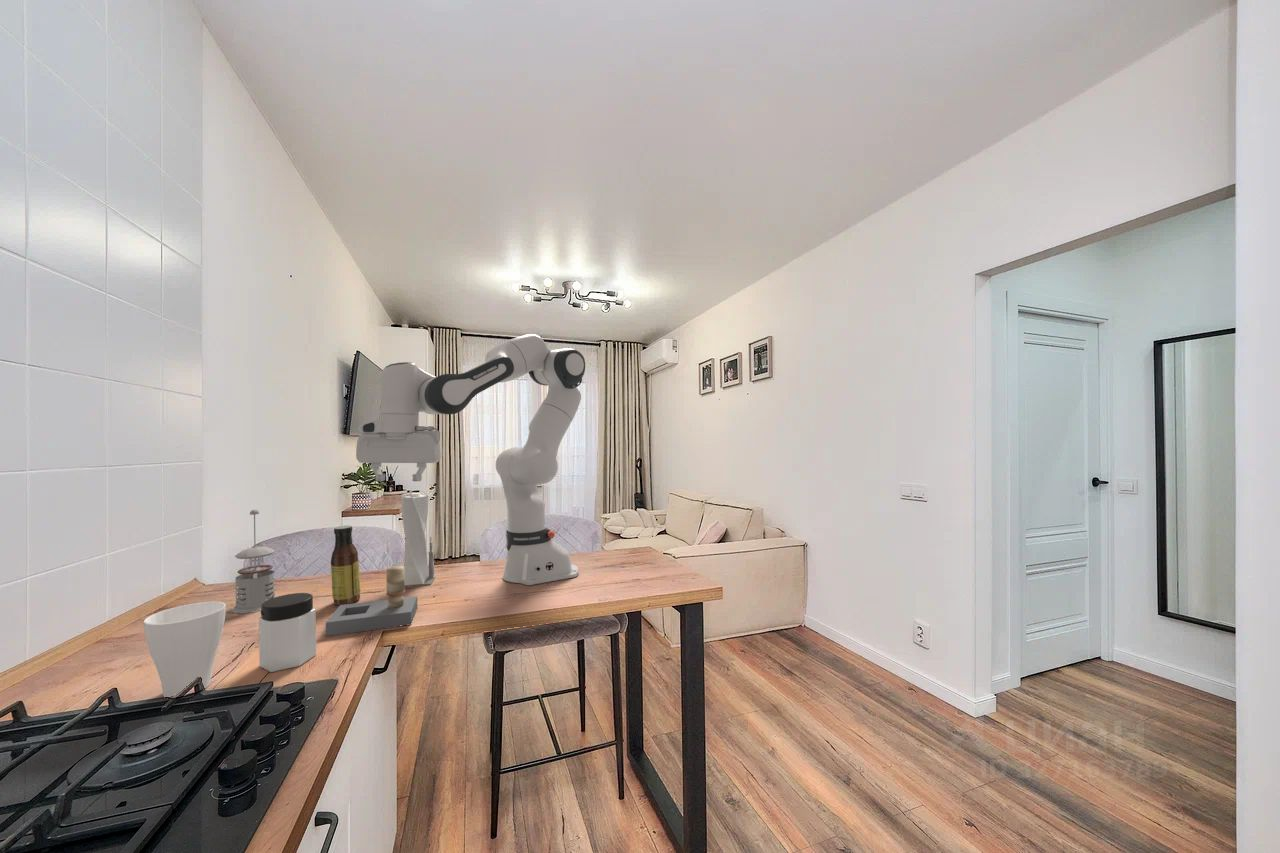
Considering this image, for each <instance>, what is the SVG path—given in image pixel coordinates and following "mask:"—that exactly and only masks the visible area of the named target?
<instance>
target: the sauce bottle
mask: <svg viewBox="0 0 1280 853" xmlns="http://www.w3.org/2000/svg"><path fill="white" fill-rule="evenodd" d="M352 532H353V526H352V525H340V526H336V527H334V529H333V534H334V536H335V537H334V544H335V545H334V547H333V551H332V553H331V557H330V570H331V589H332V590H331V591H332V592H331V593H332V595H331V596H332V599H333V603H334V604H335V605H337V606H340V605H344V604H349V603H350V604H353V602H354V603H357V602H358V601H359V600H360V598H361V594H360V593H361V581H360V563H359V562H360V561H359V553H358V550H357V547H356V546H355V544H354V543H353V535H352Z"/></svg>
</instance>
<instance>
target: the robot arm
mask: <svg viewBox="0 0 1280 853" xmlns="http://www.w3.org/2000/svg"><path fill="white" fill-rule="evenodd" d="M585 371H586V360H585V358H584V355H583V354H582V353H581V352H580V351H578V350H577V349H573V348H570V347H569V348H567V347H564V348H559V349H552V350H549V348H548V347H547V344H546V341H544V339H543V337H540V336H539V335H537V334H534V333H533V334H532V333H530V334H529V333H528V334H524V335H520V336H517V337H513V338H511V339H508V340H507V341H504V342H502V343H501V342H500V344H498V345H495V346H494V347H493V348H492V349H490V350H489V351H487V353H486V354H485V360H484V362H483V363H481V364H479V365H477V366H475V367H473V368H471V369H469V370H467V371H465V372H461V373H444V374H440V375H438V376H435V375H432V374H430V373H428V372H427V371H426V370H425V371H424V370H423V369H421V368H420V367H419V366H418V365H417V364H416V363H414V362H409V361H405V362H396V363H390V364H388V365H386V366H385V367H384V368H383V369H382V372H381V377H380V381H379V382H380V384H379V399H380V402H381V405H380V406H381V407H380V410H379V418H377V419H374V420H371V421H368V422H365V423H364V422H363V423H362V424H360V425H359V426H358V431H359V433H360V435H359V436H358V438H357V441H356V447H355V448H356V449H355V456H356V457H355V458H356V461H357V462H358V463H359V464H360V463H362V464H370V468H371V470H372V472H373V473H374V475H375V482H384V481H385V480H386V473H383V472H382V470H381V467H382V464H416V468H418V469H417V471H416V473H414V474H412V481H413V482H421V481H422V478H423V477H422V475H423V473H424V472H425V470H426V468H427V464H435V463H438V462H440V460H441V457H442V456H441V454H442V453H441V446H440V440H441V433H440V430H438V428H436V427H434V426H432V425H431V426H429V425H428V426H424V425H423V426H420V425H419V423H420V422H419V420H420V419H419V416H420V415H419V413H420V412H421V413H424V414H429V415H456V414H459V413H460V412H462V411H463V410H464V409H466V407H468V405H469V404H470V403H471V401H472V400H473V398H474V397H475V396H477V395H479V394H480V393H481V392H484V391H485V390H487V389H489V388H491V387H493V386H495V385H496V384H499V383H507V382H511V381H513V380H516V379H518V378H520V377H522V376H525V375H527V374H528V375H529V376H530V378H531V380H532V381H533V382H534V383H536V384H538V385H541V386H545V387H546V386H548V391H547V394H546V397H545V398H544V399H543V401H542V402H541V404H540V406H539V407H538V409H537V410H536V412H535V414H534V415H533V417H532V419H531V421H530V422H529V425H528V430H529V432H528V437H527V440H526V441H525V442H526V443H525V444H524V446H522V447H518V446H517V447H516V446H515V447H511V448H508V449H505V450H503V451H502V452H500V453H499V454H498V456H497V457H496V461H495V470H496V472H497V474H498V475H499V477H500V480H501V484H502V488H503V491H504V492H503V493H504V496H505V500H506V510H507V511H506V512H507V515H506V516H507V530H506V533H505V547H506V551H507V552H506V561H505V568H504V572H503V574H502V580H504V581H506V582H509V583H514V584H515V583H516V584H522V585H526V586H532V585H537V584H543V583H549V582H554V581H555V582H556V581H561V580H566V579H570V578H575V577H578V576H579V568H578V566H577V565H575V563H572V561H571V556H570V554H569V551H568V550H567V549H566V548H564V547H563V546H561V545H560V544H558V543H557V542H555V541H554V540H553V539H554V538H555V537H556V536H555V535H556V534H555V531H553V530H552V529H550V528H547V527H546V512H545V510H546V509H545V508H546V507H545V501H544V499H543V498H542V496H541V494H540V492H539V489H538V486H540V485H544V484H548V483H550V482H551V481H553V479H555V477H556V475H557V473H558V469H559V465H558V464H559V463H558V460H557V457H558V456H557V455H558V452H559V448H560V445H561V442H562V440H563V438H564V436H565V434H566V433H567V430H568V429H569V427H570V425H571V423H572V421H573V420H574V418H575V416H576V414H577V411H578V409H579V406H580V403H581V400H582V394H581V391H580V390H579V388H578V387H579V386H580V385H581V384H582V382H583V377H584V374H585Z"/></svg>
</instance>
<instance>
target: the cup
mask: <svg viewBox="0 0 1280 853" xmlns="http://www.w3.org/2000/svg"><path fill="white" fill-rule="evenodd" d="M226 611H227V604H226V603H224V602H223V601H203V602H202V601H201V602H195V603H189V604H184V605H178V606H175V607H171V608H167V609H164V610H161V611H158V612H156V613H153V614H151V615H149V616H148V617H146V618H145V619H144V620H143V629H144V631H143V632H144V637H145V641H146V644H147V645H146V646H147V648H148V650H149V654H150V657H151V659H152V661H153V664H154V666H155V667H156V670H157V674H158V677H159V680H160V684H161V690H162V696H163V697H164V698H165V697H171V696H174V695H175V694H178V693H179V692H181V691H182V690H183V689H184V688H186V686H188V685H189V684H190V683H191V682H193V681H194V680H195V679H196V678H197V677H201V678H202V683H203V685H204V687H205V689H206V688H208V687H209V686H210V685H211V683H212V674H213V668H214V663H215V660H216V659H215V658H216V655H217V651H218V648H219V645H220V642H221V638H222V635H223V629H224V627H225V621H226Z"/></svg>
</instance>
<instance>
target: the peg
mask: <svg viewBox="0 0 1280 853" xmlns="http://www.w3.org/2000/svg"><path fill="white" fill-rule="evenodd" d="M385 570H386V573H385V574H386V596H387V599H388V607H389V608H398V607H401V606H403V598H404V594H405V592H406V590H405V588H406V587H405V582H404V565H394V566H389V567H387V568H386V569H385Z"/></svg>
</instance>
